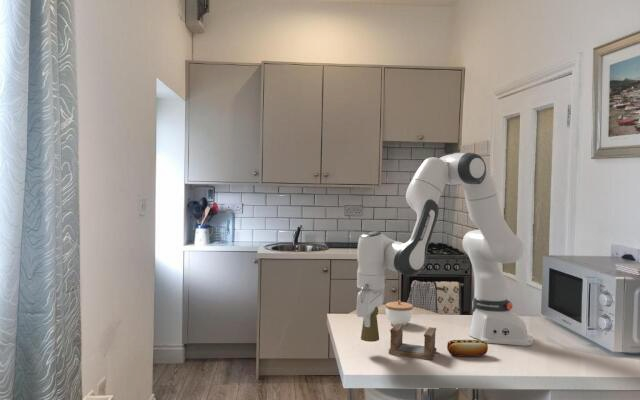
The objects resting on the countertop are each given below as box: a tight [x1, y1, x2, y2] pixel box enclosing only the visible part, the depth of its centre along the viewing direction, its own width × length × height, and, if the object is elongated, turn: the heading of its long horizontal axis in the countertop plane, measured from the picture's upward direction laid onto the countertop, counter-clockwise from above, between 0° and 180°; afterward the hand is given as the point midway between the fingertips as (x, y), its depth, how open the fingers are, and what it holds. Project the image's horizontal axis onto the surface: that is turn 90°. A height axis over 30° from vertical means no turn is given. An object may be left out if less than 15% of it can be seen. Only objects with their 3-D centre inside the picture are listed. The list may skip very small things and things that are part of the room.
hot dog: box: [446, 339, 489, 357], centre depth 167 cm, size 5×13×5 cm, turn 93°
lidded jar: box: [385, 299, 414, 327], centre depth 203 cm, size 11×11×9 cm
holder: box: [388, 323, 437, 361], centre depth 169 cm, size 14×9×8 cm
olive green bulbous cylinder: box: [360, 306, 380, 343], centre depth 166 cm, size 6×6×11 cm
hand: (370, 324), depth 166 cm, fingers closed on olive green bulbous cylinder, 4 cm apart
